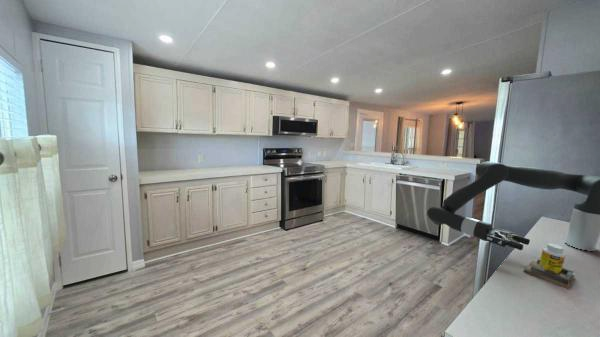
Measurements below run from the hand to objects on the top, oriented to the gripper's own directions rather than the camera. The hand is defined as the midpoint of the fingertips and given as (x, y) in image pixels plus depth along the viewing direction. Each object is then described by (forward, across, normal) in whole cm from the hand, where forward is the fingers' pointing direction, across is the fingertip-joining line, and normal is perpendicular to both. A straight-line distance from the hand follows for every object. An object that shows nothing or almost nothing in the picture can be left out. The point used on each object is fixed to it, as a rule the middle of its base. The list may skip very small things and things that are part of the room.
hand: (526, 245), depth 90 cm
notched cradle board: (+7, 0, +8) cm, 11 cm away
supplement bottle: (+7, 0, +7) cm, 10 cm away
